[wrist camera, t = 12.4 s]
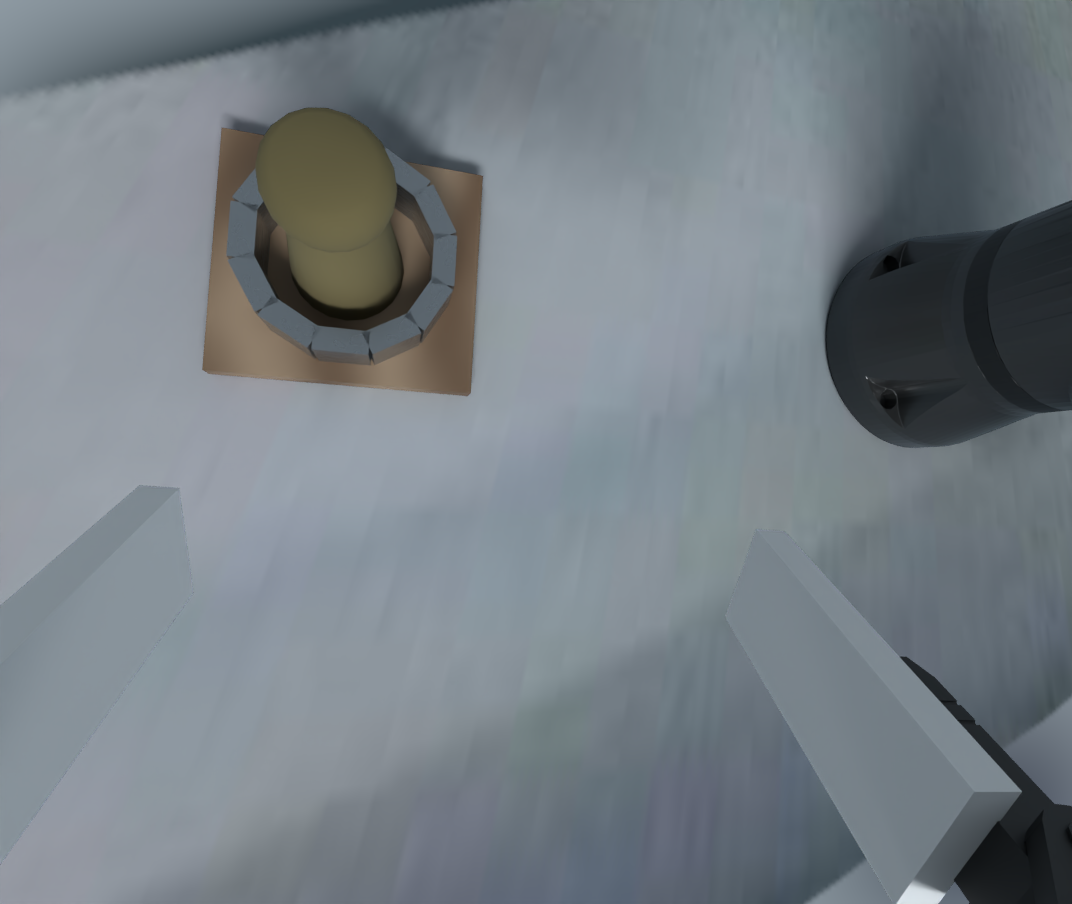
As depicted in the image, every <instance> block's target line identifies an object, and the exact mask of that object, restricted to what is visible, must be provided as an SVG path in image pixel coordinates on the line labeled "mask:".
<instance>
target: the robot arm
mask: <svg viewBox="0 0 1072 904" xmlns="http://www.w3.org/2000/svg"><path fill="white" fill-rule="evenodd" d="M827 353H828V360H829V365H830V370H831V373H832V377H833V380H834V383H835V385H836V388H837V390H838V392H839V394H840V396H841V398H842V400H843V402H844V403H845V405H846V407H847V408H848V410H849V411H850V412H851V414H852V415H853V416H854V417H855V418H856V420H857V421H858V422H859V423H860V424H861V425H862V426H863V427H864V428H866V429H867V430H868V431H869V432H871V433H872V434H873V435H875V436H877V437H878V438H880V439H882V440H884V441H886V442H888V443H891V444H894V445H897V446H902V447H909V448H920V447H940V446H949V445H954V444H958V443H962V442H965V441H967V440H970V439H972V438H975V437H978V436H980V435H983V434H985V433H988V432H991V431H993V430H996V429H998V428H1001V427H1003V426H1006V425H1009V424H1011V423H1014V422H1016V421H1019V420H1021V419H1024V418H1027V417H1029V416H1032V415H1034V414H1037V413H1046V412H1056V411H1067V410H1072V200H1071V201H1068V202H1066V203H1063V204H1061V205H1058V206H1055V207H1053V208H1050V209H1048V210H1045V211H1043V212H1040V213H1037V214H1035V215H1032V216H1030V217H1028V218H1026V219H1023V220H1021V221H1018V222H1015V223H1013V224H1010V225H1008V226H1005V227H1002V228H1000V229H997V230H988V231H977V232H967V233H957V234H947V235H937V236H926V237H918V238H913V239H909V240H905V241H902V242H899V243H896V244H894V245H892V246H890V247H888V248H885V249H883V250H881V251H879V252H876V253H874V254H872V255H870V256H868V257H867V258H865V259H864V260H862V261H861V262H860V263H858V264H857V265H856V266H855V267H854V268H853V269H852V270H851V271H850V272H849V274H848V275H847V276H846V277H845V279H844V280H843V282H842V283H841V285H840V287H839V289H838V291H837V293H836V295H835V298H834V300H833V303H832V306H831V310H830V314H829V319H828V326H827ZM193 593H194V591H193V584H192V576H191V569H190V562H189V555H188V548H187V540H186V533H185V526H184V519H183V512H182V505H181V497H180V490H179V488H172V487H157V486H143V485H139V486H138V487H137V488H136V489H135V490H134V491H133V492H131V493H130V494H129V495H128V496H127V497H126V498H124V499H123V500H122V501H121V502H120V503H119V504H117V505H116V506H115V507H114V508H113V509H112V510H111V511H109V512H108V513H107V514H106V515H105V516H104V517H102V518H101V519H100V520H99V521H98V522H97V523H96V524H94V525H93V526H92V527H91V528H90V529H89V530H87V531H86V532H85V533H84V534H83V535H82V536H80V537H79V538H78V539H77V540H76V541H75V542H74V543H72V544H71V545H70V546H69V547H68V548H67V549H65V550H64V551H63V552H62V553H61V554H60V555H58V556H57V557H56V558H55V559H54V560H53V561H52V562H50V563H49V564H48V565H47V566H46V567H45V568H43V569H42V570H41V571H40V572H39V573H38V574H37V575H35V576H34V577H33V578H32V579H31V580H30V581H28V582H27V583H26V584H25V585H24V586H23V587H21V588H20V589H19V590H18V591H17V592H16V593H15V594H13V595H12V596H11V597H10V598H9V599H8V600H6V601H5V602H4V603H3V604H2V605H1V606H0V865H1V863H2V862H3V860H4V859H5V858H6V856H7V855H8V853H9V852H10V851H11V849H12V848H13V846H14V845H15V844H16V842H17V841H18V839H19V838H20V836H21V835H22V834H23V832H24V831H25V829H26V828H27V827H28V825H29V824H30V822H31V821H32V820H33V818H34V817H35V815H36V814H37V813H38V811H39V810H40V808H41V807H42V805H43V804H44V803H45V801H46V800H47V798H48V797H49V796H50V794H51V793H52V791H53V790H54V789H55V787H56V786H57V784H58V783H59V782H60V780H61V779H62V777H63V776H64V775H65V773H66V772H67V770H68V769H69V767H70V766H71V765H72V763H73V762H74V760H75V759H76V758H77V756H78V755H79V753H80V752H81V751H82V749H83V748H84V746H85V745H86V744H87V742H88V741H89V739H90V738H91V737H92V735H93V734H94V732H95V731H96V729H97V728H98V727H99V725H100V724H101V722H102V721H103V720H104V718H105V717H106V715H107V714H108V713H109V711H110V710H111V708H112V707H113V706H114V704H115V703H116V701H117V700H118V699H119V697H120V696H121V694H122V693H123V691H124V690H125V689H126V687H127V686H128V684H129V683H130V682H131V680H132V679H133V677H134V676H135V675H136V673H137V672H138V670H139V669H140V668H141V666H142V665H143V663H144V662H145V660H146V659H147V658H148V656H149V655H150V653H151V652H152V651H153V649H154V648H155V646H156V645H157V644H158V642H159V641H160V639H161V638H162V637H163V635H164V634H165V632H166V631H167V630H168V628H169V627H170V625H171V624H172V622H173V621H174V620H175V618H176V617H177V615H178V614H179V613H180V611H181V610H182V608H183V607H184V606H185V604H186V603H187V601H188V600H189V599H190V597H191V596H192V594H193ZM725 618H726V620H727V621H728V623H729V625H730V626H731V628H732V630H733V632H734V633H735V635H736V637H737V638H738V640H739V642H740V644H741V645H742V647H743V649H744V650H745V652H746V654H747V655H748V657H749V659H750V661H751V662H752V664H753V666H754V667H755V669H756V671H757V673H758V674H759V676H760V678H761V679H762V681H763V683H764V685H765V686H766V688H767V690H768V691H769V693H770V695H771V697H772V698H773V700H774V702H775V703H776V705H777V707H778V708H779V710H780V712H781V714H782V715H783V717H784V719H785V720H786V722H787V724H788V726H789V727H790V729H791V731H792V732H793V734H794V736H795V738H796V739H797V741H798V743H799V744H800V746H801V748H802V750H803V751H804V753H805V755H806V756H807V758H808V760H809V761H810V763H811V765H812V767H813V768H814V770H815V772H816V773H817V775H818V777H819V779H820V780H821V782H822V784H823V785H824V787H825V789H826V791H827V792H828V794H829V796H830V797H831V799H832V801H833V803H834V804H835V806H836V808H837V809H838V811H839V813H840V814H841V816H842V818H843V820H844V821H845V823H846V825H847V826H848V828H849V830H850V832H851V833H852V835H853V837H854V838H855V840H856V842H857V844H858V845H859V847H860V849H861V850H862V852H863V854H864V855H865V857H866V859H867V861H868V862H869V864H870V866H871V867H872V869H873V871H874V873H875V874H876V876H877V878H878V879H879V881H880V883H881V884H882V886H883V888H884V890H885V891H886V893H887V895H888V897H889V898H890V900H891V902H892V903H893V904H938V903H939V902H940V901H941V899H942V898H943V896H944V895H945V894H946V893H947V891H948V890H949V889H950V887H951V886H952V885H953V883H954V882H956V884H957V885H958V886H959V888H960V889H961V891H962V892H963V894H964V895H965V897H966V898H967V899H968V901H969V902H970V903H969V904H1072V807H1071V806H1067V805H1059V804H1054V803H1053V802H1052V801H1051V800H1050V799H1049V798H1048V797H1047V796H1046V795H1045V794H1044V793H1043V792H1042V790H1040V788H1039V787H1038V786H1037V785H1036V784H1035V783H1034V782H1033V781H1032V780H1031V779H1030V778H1029V777H1028V776H1027V775H1026V773H1025V772H1024V771H1023V770H1022V769H1021V768H1020V767H1019V766H1018V765H1017V764H1016V763H1015V762H1014V761H1013V760H1012V759H1011V758H1010V757H1009V755H1008V754H1007V753H1006V752H1005V751H1004V750H1003V749H1002V748H1001V747H1000V746H999V745H998V744H997V743H996V742H995V741H994V740H993V739H992V738H991V736H990V735H989V734H988V733H987V732H986V731H985V730H984V729H983V728H982V727H981V726H980V725H976V724H975V720H974V718H973V717H972V716H971V715H970V714H969V713H968V712H967V711H966V710H965V709H964V708H963V707H962V706H961V705H957V703H956V702H957V700H956V699H955V698H954V697H953V696H952V695H951V694H950V693H949V692H948V691H947V690H946V689H945V688H944V687H943V686H942V685H941V684H940V682H939V681H938V680H937V679H936V678H935V677H934V676H932V675H931V674H929V673H928V672H927V671H925V670H924V669H922V668H921V667H920V666H918V665H917V664H916V663H914V662H913V661H911V660H910V659H909V658H907V657H899V656H898V655H897V654H896V653H895V652H894V650H893V649H892V648H891V647H890V646H889V645H888V644H887V643H886V642H885V641H884V639H883V638H882V637H881V636H880V635H879V634H878V633H877V632H876V631H875V630H874V628H873V627H872V626H871V625H870V624H869V623H868V622H867V621H866V620H865V619H864V617H863V616H862V615H861V614H860V613H859V612H858V611H857V610H856V609H855V608H854V606H853V605H852V604H851V603H850V602H849V601H848V600H847V599H846V598H845V597H844V596H843V594H842V593H841V592H840V591H839V590H838V589H837V588H836V587H835V586H834V585H833V583H832V582H831V581H830V580H829V579H828V578H827V577H826V576H825V575H824V574H823V572H822V571H821V570H820V569H819V568H818V567H817V566H816V565H815V564H814V563H813V561H812V560H811V559H810V558H809V557H808V556H807V555H806V554H805V553H804V552H803V551H802V549H801V548H800V547H799V546H798V545H797V544H796V543H795V542H794V541H793V540H792V538H791V537H790V536H789V535H788V534H787V533H786V532H785V531H777V530H762V529H756V531H755V533H754V536H753V539H752V542H751V545H750V548H749V550H748V553H747V556H746V559H745V562H744V565H743V567H742V570H741V573H740V576H739V579H738V582H737V585H736V587H735V590H734V593H733V596H732V599H731V602H730V604H729V607H728V610H727V613H726V616H725Z"/></svg>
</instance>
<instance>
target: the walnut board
mask: <svg viewBox="0 0 1072 904" xmlns="http://www.w3.org/2000/svg"><path fill="white" fill-rule="evenodd" d="M263 137H264V135H259V134H254V133H248V132H243V131H237V130H232V129H227V128H222V131H221V144H220V156H219V169H218V181H217V194H216V206H215V219H214V231H213V244H212V256H211V269H210V281H209V294H208V306H207V319H206V331H205V344H204V356H203V369H202V370H204V371H205V372H207V373H209V374H218V375H230V376H241V377H253V378H265V379H276V380H288V381H299V382H311V383H323V384H334V385H346V386H358V387H369V388H381V389H393V390H404V391H416V392H428V393H439V394H451V395H463V396H468V395H469V394H470V393H471V375H472V358H473V340H474V322H475V305H476V287H477V269H478V252H479V234H480V216H481V199H482V181H483V176H481V175H475V174H470V173H465V172H459V171H454V170H448V169H443V168H438V167H432V166H427V165H421V164H416V163H411V162H406V163H407V164H409V165H410V166H411V167H413V168H414V169H415V170H417V171H418V172H419V173H420V174H422V175H423V176H424V177H426V178H427V179H428V180H430V181H431V182H430V185H434V187H435V189H436V191H437V193H438V195H439V197H440V199H441V201H442V203H443V205H444V207H445V210H446V212H447V214H448V216H449V218H450V220H451V222H452V224H453V226H454V228H455V230H456V236H457V250H456V267H455V284H454V289H453V292H452V295H451V298H450V301H449V304H448V306H447V308H446V309H445V311H444V312H443V314H442V315H441V316H440V318H439V319H438V321H437V322H436V324H435V325H434V326H433V328H432V329H431V331H430V332H429V334H428V335H427V336H426V338H425V339H424V341H423V342H422V343H420V342H419V346H417V347H415V348H413V349H410V350H408V351H406V352H403V353H401V354H399V355H397V356H394V357H392V358H390V359H388V360H385V361H383V362H381V363H378V364H376V365H374V363H373V361H372V359H371V366H368V365H357V364H347V363H336V362H326V361H319V360H318V358H316V359H314V358H312V357H311V356H309V355H308V354H306V353H305V352H303V351H302V350H300V349H299V348H297V347H296V346H294V345H292V344H291V343H289V342H288V341H286V340H285V339H283V338H282V337H280V336H279V335H277V334H276V333H274V332H273V331H271V330H270V329H269V328H268V327H267V326H266V324H265V323H264V322H263V321H262V320H261V319H260V317H259V316H258V315H257V314H256V313H255V312H254V310H253V308H252V306H251V304H250V302H249V301H248V299H247V297H246V295H245V293H244V291H243V289H242V287H241V285H240V283H239V282H238V280H237V278H236V276H235V274H234V272H233V270H232V268H231V266H230V264H229V262H228V261H227V260H228V257H227V256H226V252H227V239H228V226H229V214H230V201H234V199H233V197H232V196H233V195H234V194H235V192H236V191H237V190H238V189H239V188H240V186H241V185H242V184H243V183H244V181H245V180H246V179H247V178H248V177H249V175H250V174H251V173H252V172H253V170H254V169H255V165H256V158H257V153H258V149H259V144H260V142H261V140H262V139H263ZM390 222H391V225H392V228H393V231H394V234H395V237H396V240H397V243H398V246H399V249H400V252H401V255H402V262H403V269H404V275H403V280H402V286H401V289H400V291H399V293H398V294H397V296H396V298H395V299H394V301H393V303H391V304H390V305H389V306H388V307H387V308H386V309H384V310H383V311H382V312H381V313H379V314H376V315H374V316H372V317H369V318H367V319H362V320H349V321H346V320H342V319H337V318H333V317H329V316H327V315H325V314H323V313H322V312H320V311H318V310H316V309H314V308H313V307H312V306H311V305H310V304H309V303H308V302H307V301H306V300H305V299H304V298H303V297H302V296H301V295H300V293H299V291H298V289H297V287H296V285H295V283H294V281H293V280H292V275H291V268H290V261H289V253H288V245H287V237H286V232H285V231H284V230H283V229H282V228H281V227H280V226H279V225H278V226H277V227H276V228H275V229H274V231H273V232H272V233H271V235H270V248H269V262H268V275H267V276H268V278H269V280H270V282H271V284H272V286H273V288H274V290H275V291H276V293H277V295H278V297H279V299H280V301H282V302H283V303H285V304H286V305H288V306H289V307H291V308H292V309H293V310H295V311H296V312H298V313H299V314H301V315H302V316H304V317H305V318H307V319H308V320H310V321H311V322H313V323H314V324H316V325H317V326H325V327H334V328H343V329H352V330H361V331H367V330H369V329H371V328H374V327H376V326H379V325H381V324H383V323H386V322H388V321H390V320H393V319H395V318H398V317H400V316H402V315H405V314H407V313H408V311H409V310H410V309H411V307H412V306H413V304H414V303H415V302H416V300H417V299H418V297H419V296H420V295H421V293H422V292H423V290H424V289H425V288H426V286H427V285H428V283H429V273H430V256H429V254H428V252H427V250H426V248H425V246H424V244H423V242H422V240H421V238H420V236H419V233H418V231H417V229H416V227H415V225H414V223H413V221H412V220H410V219H409V218H408V217H406V216H405V215H404V214H402V213H401V212H399V211H398V210H397V209H395V208H394V212H393V215H392V217H391V219H390Z"/></svg>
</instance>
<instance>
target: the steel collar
mask: <svg viewBox="0 0 1072 904" xmlns="http://www.w3.org/2000/svg"><path fill="white" fill-rule="evenodd" d="M385 150H386V152H387V154H388V157H389V159H390V161H391V163H392V165H393V167H394V171H395V178H396V185H397V196H396V202H395V207H394V208H395V209H397V210H398V211H399V212H401V213H402V214H404V215H405V216H406V217H408V218H409V219H410V220H412V221H413V223H414V225H415V227H416V229H417V231H418V233H419V236H420V238H421V240H422V242H423V244H424V246H425V248H426V250H427V252H428V254H429V256H430V273H429V283H428V285H427V286H426V288H425V289H424V290H423V292H422V293H421V295H420V296H419V297H418V299H417V300H416V302H415V303H414V304H413V306H412V307H411V309H410V310H409V311H408V313H407V314H405V315H402V316H400V317H398V318H395V319H393V320H390V321H388V322H386V323H383V324H381V325H379V326H376V327H374V328H371V329H369V330H367V331H361V330H352V329H343V328H334V327H325V326H317V325H316V324H314V323H313V322H311V321H310V320H308V319H307V318H305V317H304V316H302V315H301V314H299V313H298V312H296V311H295V310H293V309H292V308H291V307H289V306H288V305H286V304H285V303H283V302H282V301H280V299H279V297H278V295H277V293H276V291H275V290H274V288H273V286H272V284H271V282H270V280H269V278H268V276H267V275H268V262H269V248H270V235H271V233H272V232H273V231H274V229H275V228H276V227H277V226H278V224H277V223H276V221H275V220H274V219H273V218H272V217H271V215H270V213H269V211H268V209H267V207H266V205H265V203H264V201H263V199H262V197H261V195H260V193H259V191H258V185H257V178H256V171H255V169H254V170H253V172H252V173H251V174H250V175H249V177H248V178H247V179H246V180H245V181H244V183H243V184H242V185H241V186H240V188H239V189H238V190H237V191H236V192H235V194H234V195H233V196H232V197H233V199H234V201H230V214H229V226H228V239H227V252H226V256H227V257H228V260H227V261H228V262H229V264H230V266H231V268H232V270H233V272H234V274H235V276H236V278H237V280H238V282H239V283H240V285H241V287H242V289H243V291H244V293H245V295H246V297H247V299H248V301H249V302H250V304H251V306H252V308H253V310H254V312H255V313H256V314H257V315H258V316H259V317H260V319H261V320H262V321H263V322H264V323H265V324H266V326H267V327H268V328H269V329H270V330H271V331H273V332H274V333H276V334H277V335H279V336H280V337H282V338H283V339H285V340H286V341H288V342H289V343H291V344H292V345H294V346H296V347H297V348H299V349H300V350H302V351H303V352H305V353H306V354H308V355H309V356H311V357H312V358H314V359H316V358H318V360H319V361H326V362H336V363H347V364H357V365H368V366H371V359H372V361H373V363H374V365H376V364H378V363H381V362H383V361H385V360H388V359H390V358H392V357H394V356H397V355H399V354H401V353H403V352H406V351H408V350H410V349H413V348H415V347H417V346H419V342H420V343H422V342H423V341H424V339H425V338H426V336H427V335H428V334H429V332H430V331H431V329H432V328H433V326H434V325H435V324H436V322H437V321H438V319H439V318H440V316H441V315H442V314H443V312H444V311H445V309H446V308H447V306H448V304H449V301H450V298H451V295H452V292H453V289H454V284H455V267H456V250H457V236H456V230H455V228H454V226H453V224H452V222H451V220H450V218H449V216H448V214H447V212H446V210H445V207H444V205H443V203H442V201H441V199H440V197H439V195H438V193H437V191H436V189H435V187H434V185H430V182H431V181H430V180H428V179H427V178H426V177H424V176H423V175H422V174H420V173H419V172H418V171H417V170H415V169H414V168H413V167H411V166H410V165H409V164H407V163H406V162H405V161H403V160H402V159H401V158H399V157H398V156H397V155H395V154H394V153H393V152H391V151H390V150H389V149H388V148H385Z"/></svg>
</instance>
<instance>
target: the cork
mask: <svg viewBox="0 0 1072 904" xmlns="http://www.w3.org/2000/svg"><path fill="white" fill-rule="evenodd" d="M255 171H256V178H257V185H258V191H259V193H260V195H261V197H262V199H263V201H264V203H265V205H266V207H267V209H268V211H269V213H270V215H271V217H272V218H273V219H274V220H275V221H276V223H277V224H278V225H279V226H280V227H281V228H282V229H283V230H284V231H285V232H286V237H287V245H288V253H289V261H290V268H291V275H292V280H293V281H294V283H295V285H296V287H297V289H298V291H299V293H300V295H301V296H302V297H303V298H304V299H305V300H306V301H307V302H308V303H309V304H310V305H311V306H312V307H313V308H314V309H316V310H318V311H320V312H322V313H323V314H325V315H327V316H329V317H333V318H337V319H342V320H346V321H349V320H362V319H367V318H369V317H372V316H374V315H376V314H379V313H381V312H382V311H383V310H384V309H386V308H387V307H388V306H389V305H390V304H391V303H393V301H394V299H395V298H396V296H397V294H398V293H399V291H400V289H401V286H402V280H403V275H404V269H403V262H402V255H401V252H400V249H399V246H398V243H397V240H396V237H395V234H394V231H393V228H392V225H391V222H390V219H391V217H392V215H393V212H394V207H395V202H396V196H397V185H396V178H395V171H394V167H393V165H392V163H391V161H390V159H389V157H388V154H387V152H386V150H385V148H384V146H383V144H382V142H381V141H380V140H379V139H378V138H377V137H376V136H375V135H374V134H373V132H372V131H371V130H370V129H369V128H368V127H367V126H365V125H364V124H362V123H361V122H359V121H358V120H356V119H354V118H353V117H351V116H350V115H347V114H345V113H341V112H338V111H335V110H332V109H328V108H304V109H301V110H298V111H294V112H291V113H288V114H287V115H285V116H284V117H282V118H281V119H280V120H278V121H277V122H276V123H274V124H273V125H271V126H270V128H269V129H268V131H267V132H266V134H265V135H264V137H263V139H262V140H261V142H260V144H259V149H258V153H257V158H256V165H255Z"/></svg>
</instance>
